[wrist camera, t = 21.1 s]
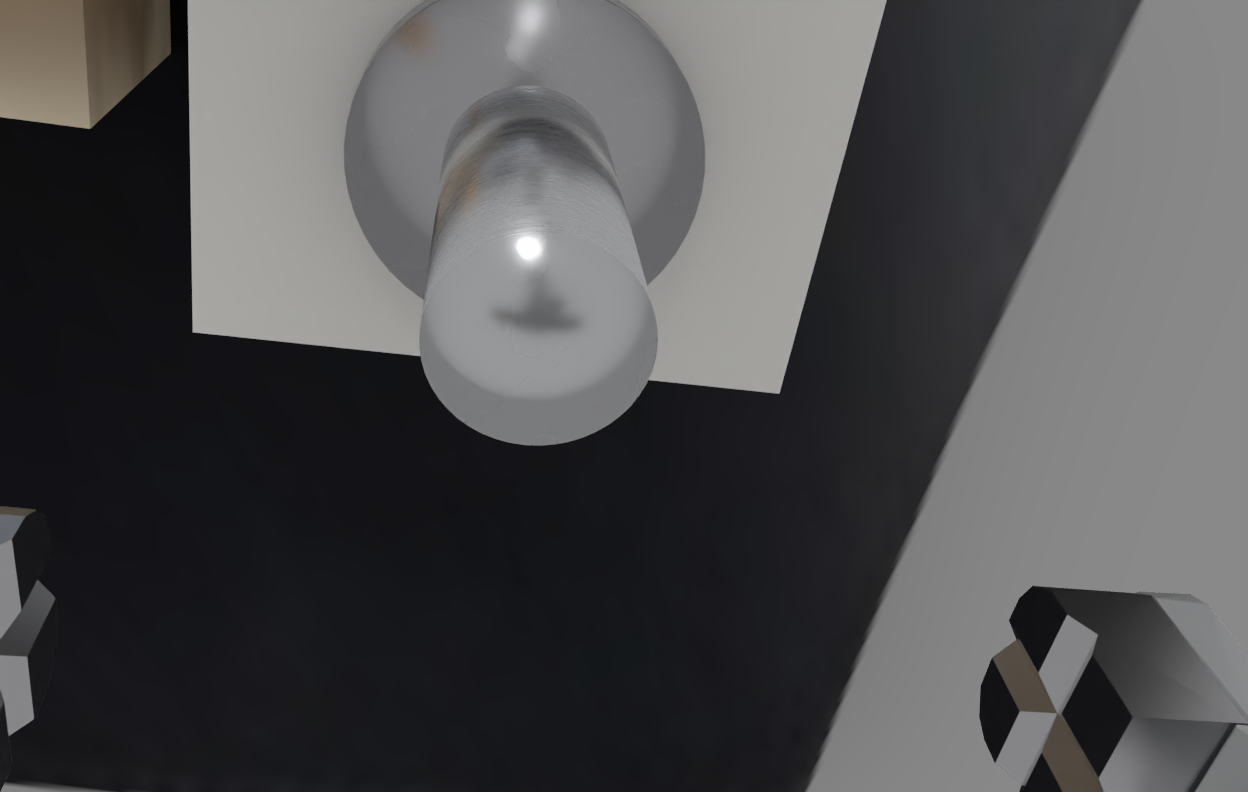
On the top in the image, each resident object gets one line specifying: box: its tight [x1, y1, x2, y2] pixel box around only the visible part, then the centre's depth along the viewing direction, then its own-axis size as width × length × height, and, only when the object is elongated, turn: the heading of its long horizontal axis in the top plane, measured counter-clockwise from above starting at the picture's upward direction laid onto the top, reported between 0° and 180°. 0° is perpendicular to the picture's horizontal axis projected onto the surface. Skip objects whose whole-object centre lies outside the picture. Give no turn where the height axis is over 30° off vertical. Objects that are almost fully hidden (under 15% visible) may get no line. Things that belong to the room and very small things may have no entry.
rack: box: [188, 0, 887, 394], centre depth 24 cm, size 9×12×7 cm
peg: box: [344, 0, 705, 446], centre depth 20 cm, size 6×6×14 cm
